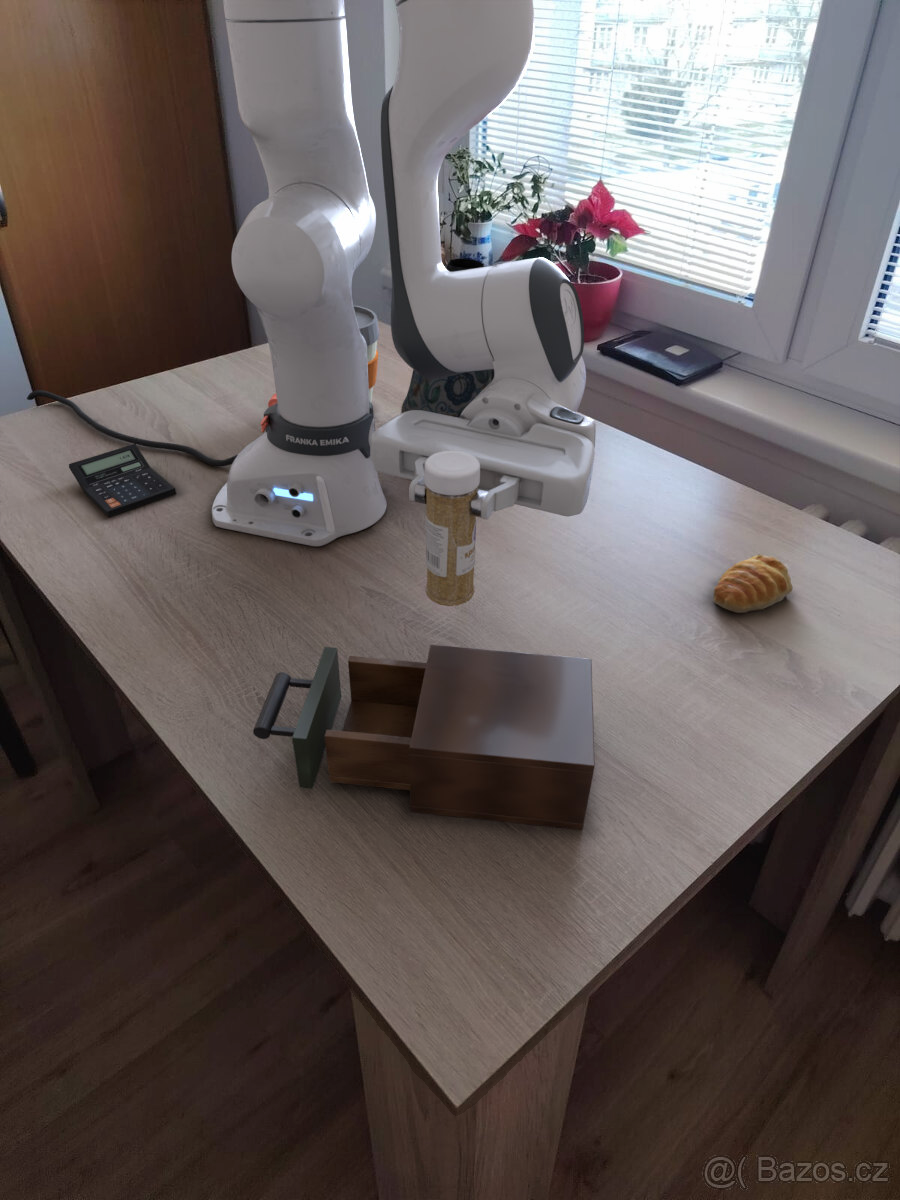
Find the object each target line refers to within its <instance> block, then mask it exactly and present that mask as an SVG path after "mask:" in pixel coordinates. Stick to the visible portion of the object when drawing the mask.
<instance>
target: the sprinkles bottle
mask: <svg viewBox="0 0 900 1200" xmlns="http://www.w3.org/2000/svg"><path fill="white" fill-rule="evenodd" d="M424 482H425V486H426V489H427V491H426V496H427V503H426V504H425V505H426V506H425V507H426V509H425V511H426V512H425V565H426V584H425V589H424V590H425V594H426V596H427V597H428V599H430V601H432V602H433V603H435V604H437V605H440V606H446V607H457V606H460V605H463V604H466V603H467V602H469V601H470V600H471V599H472V598H473V596H474V595H475V594H474V593H475V584H474V578H475V577H474V576H475V565H476V564H475V563H476V541H477V540H476V536H477V535H476V534H477V517H475V516H472V515H470V511H471V509H472V508H471V499H472V497H473V496H474V495H476V492H477V488H478V485H479V482H480V463H479V461H478V460H477V459H476V458H475V457H474V456H472V455H470V454H468V453H465V452H461V451H442V452H438V453H435V454H433V455H431V456H430V457H429V458H428V459H427V460H426V462H425V468H424Z"/></svg>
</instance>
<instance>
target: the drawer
mask: <svg viewBox="0 0 900 1200" xmlns="http://www.w3.org/2000/svg"><path fill="white" fill-rule="evenodd" d="M347 664H348V677H349V678H348V679H349V690H350V703H349V706H348V710H347V714H346V717H345V720H344V724H343V727H342V730H336V729H333V726H334V722H335V719H336V715H337V712H338V709H339V706H340V703H341V699H342V686H341V675H340V664H339V652H338V647H333V646H332V647H331V646H324V648H323V650H322V653H321V656H320V658H319V661H318V664H317V667H316V670H315V672H314V674H313V678H312V679H307V678H306V679H305V678H297V677H295V678H294V677H291V676H290V674H289V673H287V672H283V671H282V672H281V671H280V672H277V673H276V674H275V676H274V678H273V681H272V684H271V686H270V688H269V691H268V693H267V695H266V698H265V701H264V702H263V704H262V708H261V710H260V712H259V715H258V718H257V720H256V722H255V725H254V727H253V730H252V732H253V735H254V736H255V738H257V739H260V740H266V739H269V738H270V737H271V735H272V736H280V737H290V738H291V740H292V746H293V754H294V761H295V767H296V768H295V769H296V774H297V780H298V781H297V782H298V788H300V789H308V790H314V787H315V783H316V780H317V777H318V774H319V771H320V768H321V764H322V761H323V758H324V754H326V760H327V761H326V762H327V771H328V779H329V782H330V783H337V784H345V785H347V784H348V785H355V786H366V787H376V788H384V789H396V790H404V791H410V753H409V747H410V742H411V737H412V732H413V728H414V723H415V718H416V713H417V708H418V703H419V698H420V693H421V688H422V684H423V679H424V674H425V669H426V664H427V662H423V661H422V662H421V661H413V660H412V661H410V660H400V659H391V658H390V659H388V658H380V657H379V658H377V657H367V656H356V655H350V656H349V657H348V661H347ZM289 688H299V689H301V688H302V689H308V693H307V695H306V697H305V701H304V704H303V706H302V709H301V712H300V715H299V717H298V720H297V723H296V726H295V727H290V726H281V725H276V722H277V720H278V717H279V714H280V712H281V709H282V706H283V703H284V701H285V700H286V699H285V698H286V696H287V693H288V692H289V691H288V690H289Z"/></svg>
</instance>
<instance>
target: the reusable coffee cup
mask: <svg viewBox="0 0 900 1200" xmlns="http://www.w3.org/2000/svg"><path fill="white" fill-rule="evenodd" d="M353 306H354V310H355V315H356V319H357V323H358V327H359V330H360V333H361V334H362V336H363V337H364V339H365V341H366V344H367V361H368V383H369V401H370V402H371V403H372V401H373V392H374V391H373V390H374V386H375V385H376V383H377V375H378V364H379V352H378V349H377V347H378V345H377V344H378V340H379V338H380V330H379V321H378V316H377V314H376V313H375V312H374V310H372V309H369V308H367V307H364V306H360V305H356V304H353Z"/></svg>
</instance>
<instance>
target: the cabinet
mask: <svg viewBox="0 0 900 1200" xmlns="http://www.w3.org/2000/svg"><path fill="white" fill-rule="evenodd" d="M426 663H427V664H426V669H425V674H424V679H423V684H422V688H421V693H420V698H419V703H418V708H417V713H416V718H415V723H414V728H413V732H412V737H411V742H410V747H409V753H410V790H409V797H410V798H409V799H410V800H409V801H410V804H409V805H410V812H411V813H416V814H417V813H418V814H427V815H436V816H437V815H438V816H444V817H445V816H447V817H454V818H456V817H457V818H466V819H475V820H484V821H494V822H503V823H511V824H521V825H532V826H533V825H534V826H540V827H541V826H542V827H550V828H551V827H552V828H559V829H560V828H561V829H569V830H570V829H571V830H577V831H578V830H579V831H583V830H584V825H585V821H586V814H587V808H588V805H589V799H590V793H591V788H592V783H593V776H594V773H595V772H594V771H595V765H596V763H595V731H594V727H595V726H594V699H593V698H594V697H593V666H592V665H593V663H592V658H586V657H577V656H576V657H574V656H562V655H552V654H540V653H529V652H518V651H508V650H507V651H506V650H496V649H487V648H486V649H485V648H474V647H473V648H472V647H463V646H451V645H450V646H449V645H439V644H430V645H429V650H428V654H427V659H426Z"/></svg>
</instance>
